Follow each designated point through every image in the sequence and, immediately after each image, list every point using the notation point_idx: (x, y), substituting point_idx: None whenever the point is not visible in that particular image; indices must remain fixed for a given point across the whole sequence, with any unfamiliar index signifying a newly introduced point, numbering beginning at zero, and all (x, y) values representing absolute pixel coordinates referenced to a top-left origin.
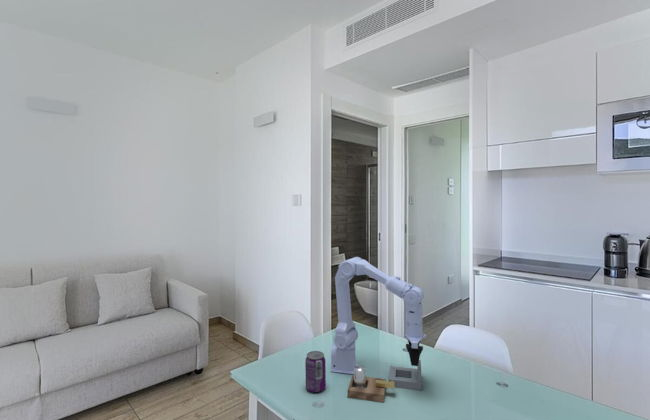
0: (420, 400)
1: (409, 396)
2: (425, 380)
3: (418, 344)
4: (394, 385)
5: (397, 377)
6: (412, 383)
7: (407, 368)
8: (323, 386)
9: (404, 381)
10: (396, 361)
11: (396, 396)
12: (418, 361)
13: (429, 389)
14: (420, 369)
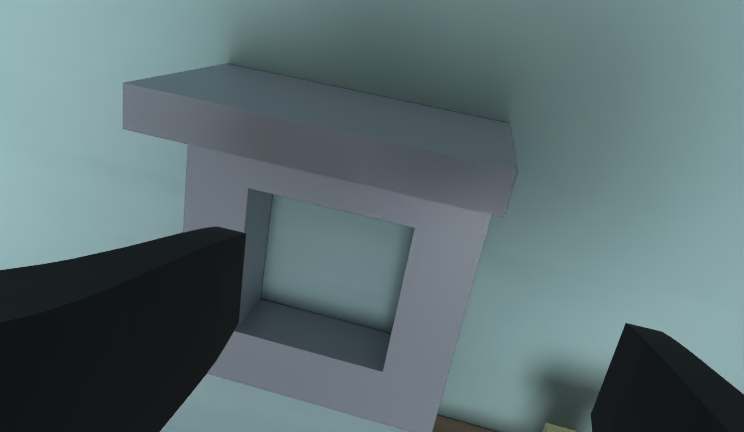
0: (692, 179)
1: (609, 264)
2: (311, 32)
3: (90, 311)
4: (564, 428)
5: (390, 355)
6: (486, 229)
7: (198, 216)
8: None
9: (465, 308)
10: (5, 237)
11: (599, 371)
12: (728, 386)
13: (490, 31)
14: (403, 155)
